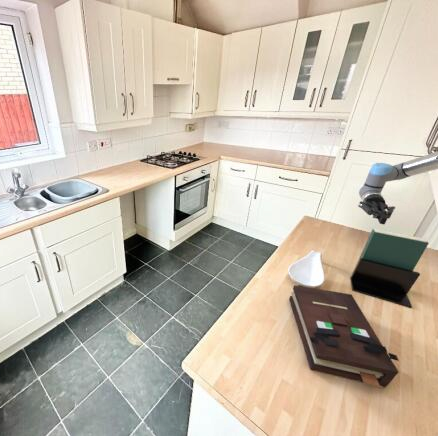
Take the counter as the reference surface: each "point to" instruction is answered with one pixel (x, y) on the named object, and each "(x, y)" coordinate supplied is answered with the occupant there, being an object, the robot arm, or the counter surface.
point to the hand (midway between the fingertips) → (383, 221)
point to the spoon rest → (308, 270)
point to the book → (394, 249)
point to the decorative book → (340, 337)
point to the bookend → (383, 281)
